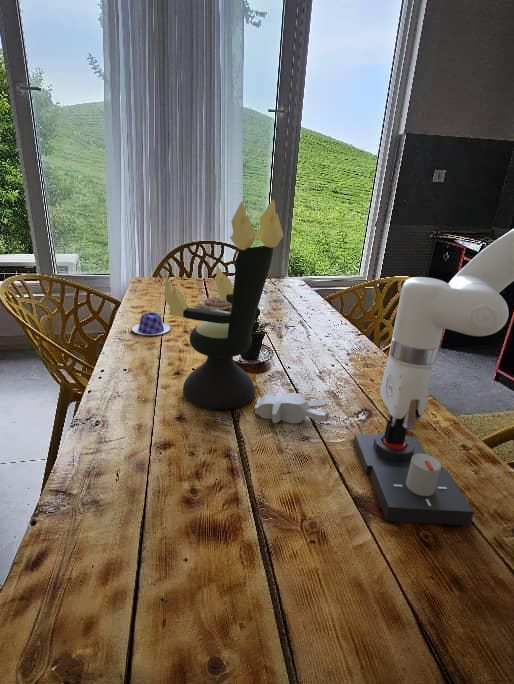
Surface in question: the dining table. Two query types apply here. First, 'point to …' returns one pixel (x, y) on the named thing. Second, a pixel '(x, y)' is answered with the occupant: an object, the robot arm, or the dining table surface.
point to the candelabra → (229, 317)
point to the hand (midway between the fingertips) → (393, 441)
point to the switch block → (384, 452)
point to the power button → (395, 445)
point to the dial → (423, 474)
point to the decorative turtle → (214, 304)
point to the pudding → (151, 325)
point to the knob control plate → (419, 499)
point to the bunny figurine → (289, 408)
